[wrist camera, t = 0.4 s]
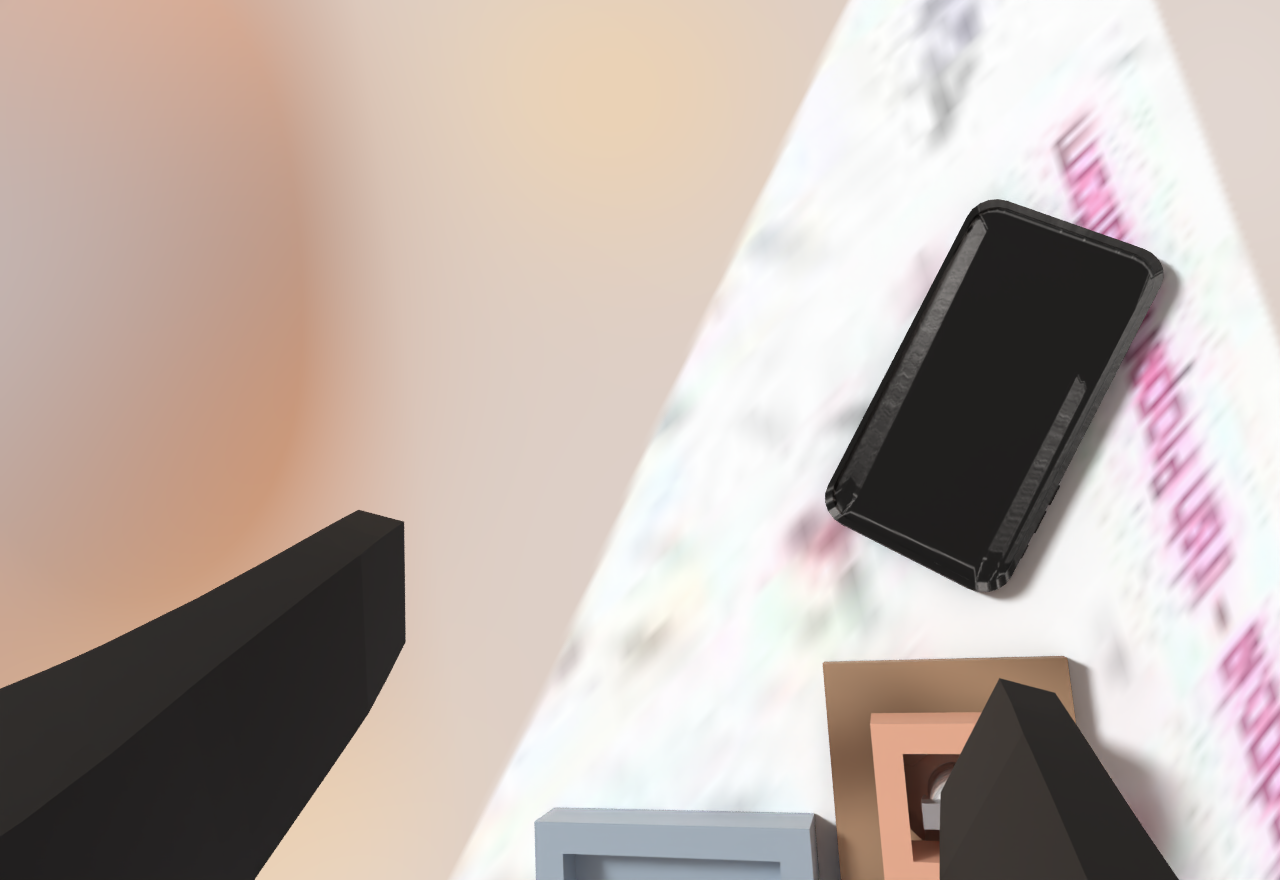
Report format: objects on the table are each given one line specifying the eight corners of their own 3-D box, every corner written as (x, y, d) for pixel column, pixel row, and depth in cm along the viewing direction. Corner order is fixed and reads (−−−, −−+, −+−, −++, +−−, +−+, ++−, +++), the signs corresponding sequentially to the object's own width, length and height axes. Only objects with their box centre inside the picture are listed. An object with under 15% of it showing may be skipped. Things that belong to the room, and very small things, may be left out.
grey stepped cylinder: (1024, 846, 31) (1047, 893, 26) (899, 843, 32) (901, 886, 28) (1008, 722, 32) (1029, 746, 27) (887, 722, 33) (887, 746, 28)
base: (1096, 909, 31) (1102, 918, 30) (844, 897, 33) (843, 905, 32) (1062, 655, 32) (1067, 657, 32) (823, 662, 35) (822, 663, 34)
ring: (1079, 875, 29) (1096, 901, 27) (885, 868, 31) (885, 892, 29) (1058, 711, 30) (1072, 722, 28) (871, 713, 32) (869, 723, 30)
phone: (815, 510, 35) (980, 191, 35) (817, 512, 36) (977, 202, 36) (1000, 604, 33) (1177, 260, 33) (996, 603, 34) (1168, 270, 34)
